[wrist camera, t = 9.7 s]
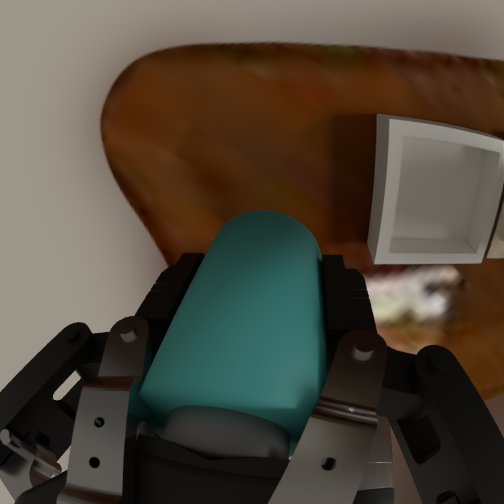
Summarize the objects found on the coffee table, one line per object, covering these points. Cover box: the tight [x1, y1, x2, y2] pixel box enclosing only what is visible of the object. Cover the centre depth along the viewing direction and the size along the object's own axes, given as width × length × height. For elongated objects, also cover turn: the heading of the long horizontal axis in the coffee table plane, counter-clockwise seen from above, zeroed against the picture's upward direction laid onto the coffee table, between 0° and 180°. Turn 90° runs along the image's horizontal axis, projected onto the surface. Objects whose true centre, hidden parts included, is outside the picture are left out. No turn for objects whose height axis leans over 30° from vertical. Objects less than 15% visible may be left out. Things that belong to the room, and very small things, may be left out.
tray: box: [367, 114, 504, 264], centre depth 18 cm, size 11×11×3 cm
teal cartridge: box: [139, 210, 328, 460], centre depth 8 cm, size 4×4×8 cm
